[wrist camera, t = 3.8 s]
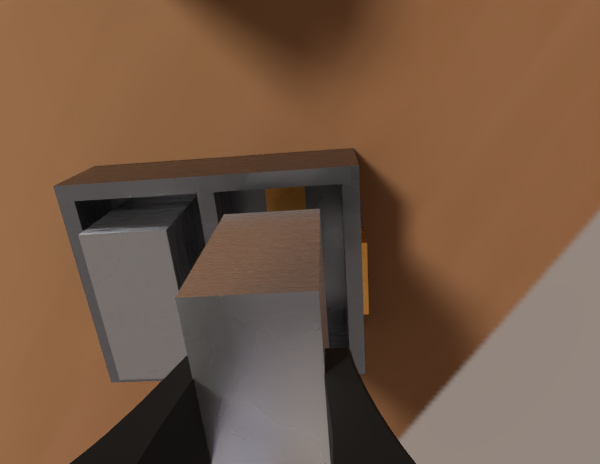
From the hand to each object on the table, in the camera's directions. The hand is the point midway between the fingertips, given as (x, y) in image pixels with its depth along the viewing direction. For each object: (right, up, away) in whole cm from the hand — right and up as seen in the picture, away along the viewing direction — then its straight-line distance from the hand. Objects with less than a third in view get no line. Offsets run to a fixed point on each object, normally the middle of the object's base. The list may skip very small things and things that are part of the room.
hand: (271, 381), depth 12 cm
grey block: (0, +2, +3) cm, 4 cm away
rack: (-2, +3, +8) cm, 9 cm away
